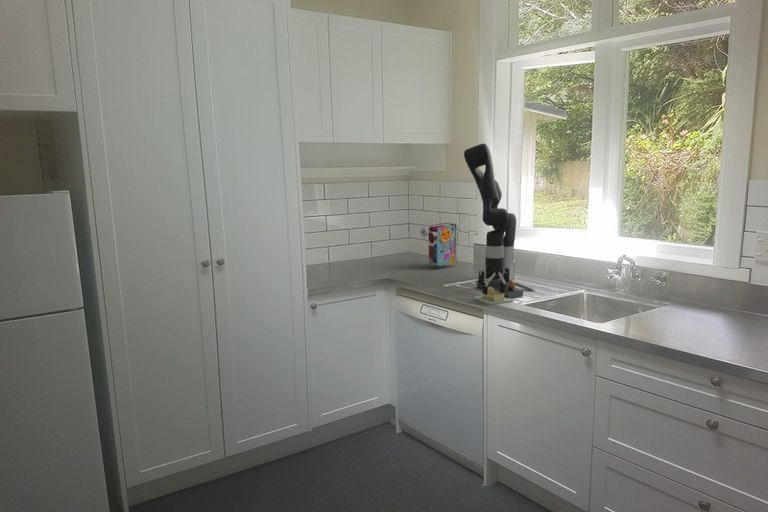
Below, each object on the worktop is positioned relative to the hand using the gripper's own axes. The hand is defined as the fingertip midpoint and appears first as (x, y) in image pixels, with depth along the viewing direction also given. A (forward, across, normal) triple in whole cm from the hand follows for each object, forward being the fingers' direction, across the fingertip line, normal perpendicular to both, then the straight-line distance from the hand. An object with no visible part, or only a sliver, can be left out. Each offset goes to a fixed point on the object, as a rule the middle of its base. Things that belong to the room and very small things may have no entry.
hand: (493, 293), depth 237 cm
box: (+3, -13, -71) cm, 72 cm away
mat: (+3, 0, 0) cm, 3 cm away
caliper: (+4, -22, -14) cm, 26 cm away
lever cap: (+2, 0, 0) cm, 2 cm away
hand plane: (+3, -11, -11) cm, 16 cm away
